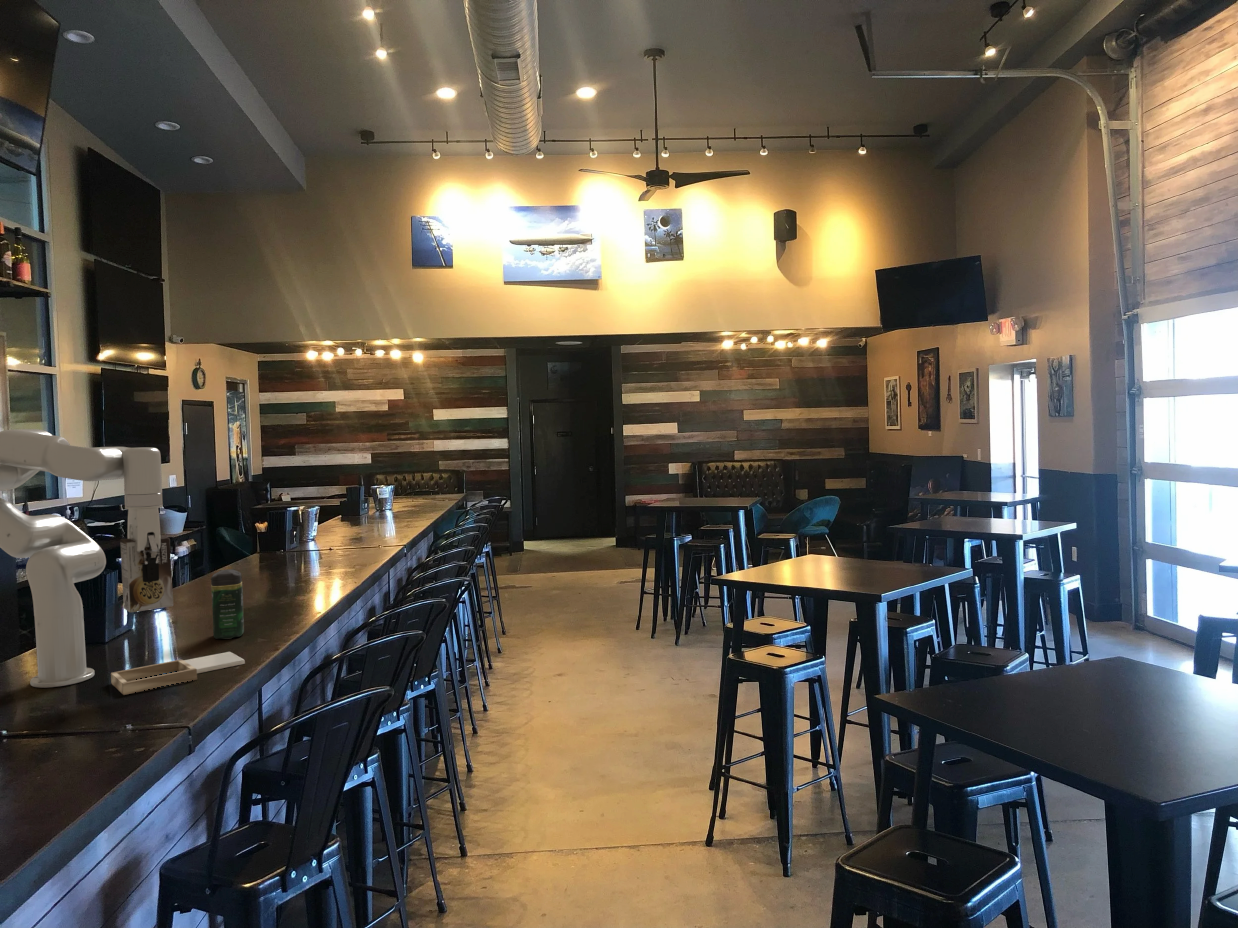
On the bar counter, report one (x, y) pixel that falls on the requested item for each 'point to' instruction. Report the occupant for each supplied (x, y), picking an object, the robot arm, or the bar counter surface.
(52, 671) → the robot arm
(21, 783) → the bar counter surface
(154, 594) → the coffee box
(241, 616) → the coffee jar
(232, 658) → the tile
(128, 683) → the holder frame
